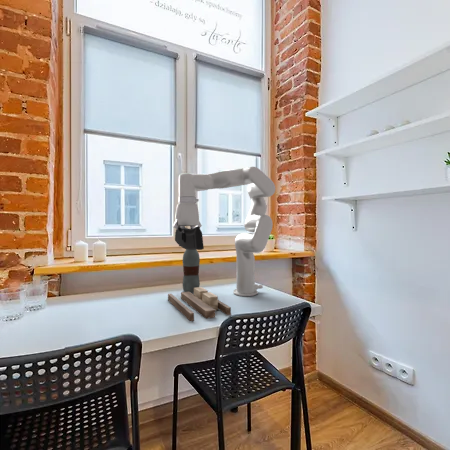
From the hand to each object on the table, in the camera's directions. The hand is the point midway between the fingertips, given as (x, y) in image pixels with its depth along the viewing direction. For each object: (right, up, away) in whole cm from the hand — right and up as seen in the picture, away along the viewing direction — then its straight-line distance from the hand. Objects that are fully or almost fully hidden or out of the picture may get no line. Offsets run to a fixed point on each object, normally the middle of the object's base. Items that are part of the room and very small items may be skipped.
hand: (187, 241), depth 135 cm
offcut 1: (+5, -29, +6) cm, 30 cm away
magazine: (0, -4, 0) cm, 4 cm away
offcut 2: (+10, -29, -4) cm, 31 cm away
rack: (+4, -29, -3) cm, 29 cm away
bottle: (-1, -28, +26) cm, 39 cm away
